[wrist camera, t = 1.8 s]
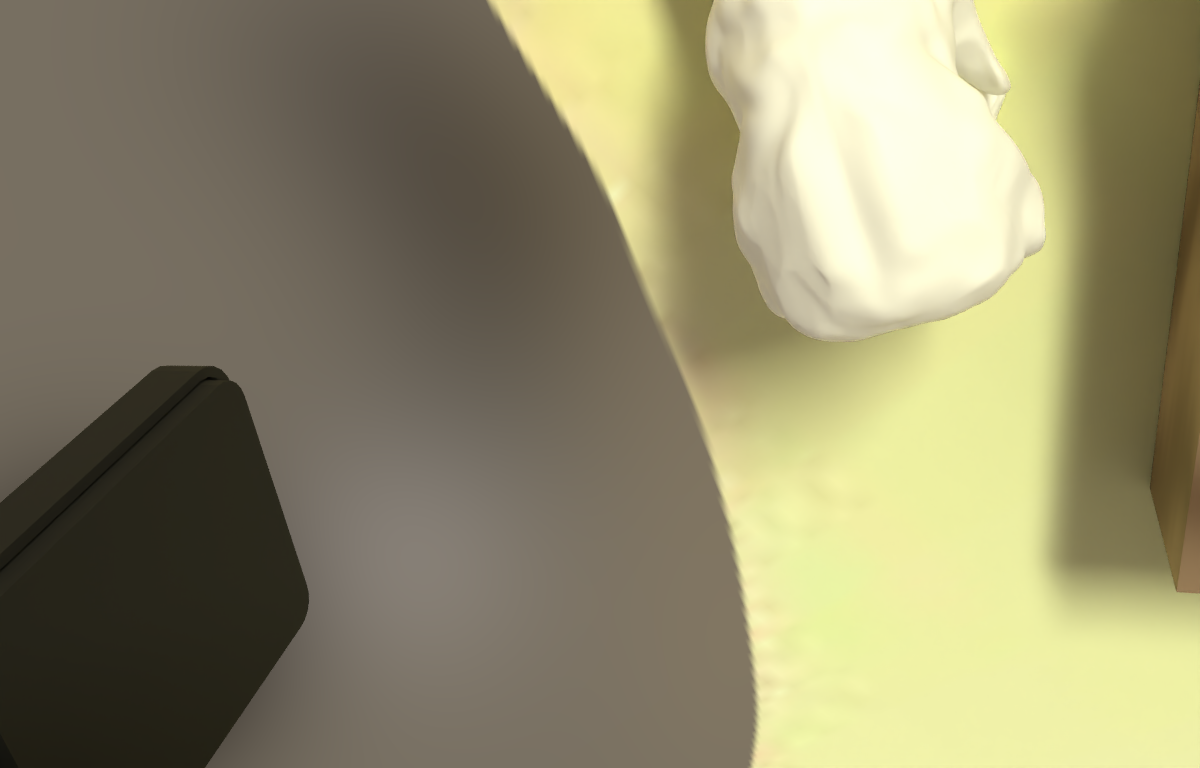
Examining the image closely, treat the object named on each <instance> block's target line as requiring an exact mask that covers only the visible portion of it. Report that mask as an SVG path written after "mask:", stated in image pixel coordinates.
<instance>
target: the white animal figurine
mask: <svg viewBox="0 0 1200 768" xmlns="http://www.w3.org/2000/svg"><path fill="white" fill-rule="evenodd" d="M705 51H706V61H707V66H708V72H709V76H710V78H711V81H712V82H713V84H714V86H715V87H716V89H717V90H718V92H719V93H720V94H721V96H722V97H723V98H724V100H725V101H726V102H727V104H728V106H729V107H730V109H731V111H732V113H733V116H734V118H735V121H736V123H737V126H738V128H739V131H740V138H739V144H738V149H737V154H736V159H735V164H734V168H733V173H732V190H733V222H734V231H735V237H736V241H737V244H738V246H739V249H740V251H741V252H742V254H743V256H744V257H745V258H746V260H747V261H748V263H749V264H750V265H751V267H752V271H753V274H754V276H755V278H756V281H757V284H758V288H759V291H760V294H761V296H762V297H763V299H764V301H765V303H766V305H767V306H768V308H769V309H770V310H771V311H772V312H773V313H774V314H776V315H777V316H779V317H781V318H786V320H787V321H788V322H789V324H790V325H791V326H792V327H793V328H794V329H796V330H797V331H799V332H800V333H802V334H804V335H806V336H808V337H810V338H814V339H817V340H821V341H828V342H851V341H860V340H864V339H867V338H870V337H873V336H877V335H880V334H884V333H887V332H891V331H895V330H899V329H904V328H908V327H911V326H915V325H919V324H923V323H928V322H934V321H939V320H944V319H947V318H950V317H952V316H954V315H957V314H959V313H961V312H963V311H966V310H967V309H969V308H971V307H973V306H976V305H978V304H980V303H982V302H984V301H986V300H988V299H989V298H991V297H992V296H993V295H994V294H995V293H996V292H997V291H998V290H999V289H1000V288H1001V287H1002V286H1003V285H1004V284H1005V283H1006V281H1007V280H1008V278H1009V277H1010V276H1011V275H1012V274H1013V273H1014V272H1015V271H1016V270H1017V269H1018V268H1019V267H1020V265H1021V264H1022V262H1023V260H1024V258H1026V257H1028V256H1031V255H1033V254H1035V253H1037V252H1038V251H1040V250H1041V248H1042V247H1043V244H1044V242H1045V238H1046V231H1045V217H1044V201H1043V195H1042V192H1041V189H1040V186H1039V184H1038V182H1037V180H1036V179H1035V177H1034V176H1033V175H1032V174H1031V172H1030V170H1029V167H1028V164H1027V162H1026V160H1025V158H1024V156H1023V154H1022V153H1021V151H1020V150H1019V148H1018V147H1017V145H1016V144H1015V142H1014V141H1013V140H1012V139H1011V137H1010V136H1009V135H1008V134H1007V133H1006V132H1005V131H1004V129H1003V128H1002V127H1001V126H1000V125H999V124H998V122H997V121H996V119H997V116H998V113H999V111H1000V109H1001V106H1002V104H1003V101H1004V98H1005V95H1006V93H1007V92H1008V91H1009V90H1010V88H1011V84H1010V80H1009V77H1008V75H1007V73H1006V71H1005V70H1004V68H1003V67H1002V66H1001V64H1000V63H999V61H998V59H997V58H996V56H995V54H994V52H993V50H992V48H991V45H990V43H989V41H988V39H987V36H986V34H985V32H984V30H983V27H982V25H981V23H980V20H979V17H978V14H977V11H976V8H975V4H974V0H714V1H713V5H712V8H711V11H710V14H709V17H708V21H707V26H706V37H705Z"/></svg>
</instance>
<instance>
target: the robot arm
mask: <svg viewBox="0 0 1200 768" xmlns="http://www.w3.org/2000/svg"><path fill="white" fill-rule="evenodd" d="M308 604H309V593H308V588H307V585H306V581H305V578H304V575H303V572H302V569H301V566H300V563H299V560H298V557H297V554H296V551H295V548H294V545H293V542H292V539H291V536H290V533H289V530H288V526H287V524H286V520H285V518H284V514H283V511H282V509H281V505H280V502H279V499H278V496H277V493H276V490H275V487H274V484H273V481H272V478H271V475H270V472H269V469H268V466H267V463H266V460H265V457H264V454H263V451H262V447H261V445H260V441H259V438H258V435H257V432H256V429H255V426H254V423H253V420H252V417H251V414H250V411H249V408H248V405H247V402H246V399H245V396H244V394H243V392H242V390H241V388H240V387H239V386H238V385H237V383H235V382H233V381H229V378H228V377H227V375H226V374H225V373H224V372H223V371H222V370H220V369H219V368H216V367H214V366H160V367H158V368H156V369H155V370H153V371H151V372H150V373H149V374H148V375H147V376H146V377H144V378H143V379H142V380H141V381H140V382H139V383H138V384H136V385H135V386H134V387H133V388H132V389H131V390H129V391H128V392H127V393H126V394H125V395H124V396H123V397H121V398H120V399H119V400H118V401H117V402H116V403H115V404H113V405H112V406H111V407H110V408H109V409H108V410H107V411H105V412H104V413H103V414H102V415H101V416H100V417H98V418H97V419H96V420H95V421H94V422H93V423H91V424H90V426H88V427H87V428H86V429H85V430H84V431H82V432H81V433H80V434H79V435H78V436H77V437H75V438H74V439H73V440H72V441H71V442H70V443H69V444H67V445H66V446H65V447H64V448H63V449H62V450H60V451H59V452H58V453H57V454H56V455H55V456H54V457H53V458H51V459H50V460H49V461H48V462H47V463H46V464H44V465H43V466H42V467H41V468H40V469H39V470H37V471H36V472H35V473H34V474H33V475H32V476H31V477H29V478H28V479H27V480H26V481H25V482H24V483H22V484H21V485H20V486H19V487H18V488H17V489H16V490H14V491H13V492H12V493H11V494H10V495H9V496H8V497H6V498H5V499H4V500H3V501H2V502H1V503H0V768H205V767H206V765H207V764H208V762H209V761H210V759H211V758H212V756H213V755H214V754H215V752H216V750H217V749H218V748H219V746H220V745H221V743H222V742H223V740H224V739H225V737H226V736H227V734H228V733H229V732H230V730H231V729H232V727H233V726H234V724H235V723H236V721H237V720H238V718H239V717H240V715H241V714H242V712H243V711H244V709H245V708H246V707H247V705H248V704H249V702H250V701H251V699H252V698H253V696H254V695H255V693H256V692H257V690H258V689H259V687H260V686H261V684H262V683H263V681H264V680H265V679H266V677H267V676H268V674H269V673H270V671H271V670H272V668H273V667H274V665H275V664H276V662H277V661H278V659H279V658H280V657H281V655H282V654H283V652H284V651H285V649H286V648H287V646H288V645H289V643H290V642H291V640H292V639H293V638H294V636H295V635H296V633H297V632H298V630H299V629H300V627H301V625H302V624H303V622H304V620H305V617H306V614H307V610H308Z"/></svg>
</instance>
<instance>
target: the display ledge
mask: <svg viewBox="0 0 1200 768" xmlns="http://www.w3.org/2000/svg"><path fill="white" fill-rule="evenodd" d="M1150 490H1151V494H1152V498H1153V502H1154V505H1155V509H1156V513H1157V517H1158V521H1159V525H1160V529H1161V533H1162V537H1163V541H1164V545H1165V548H1166V552H1167V556H1168V560H1169V564H1170V568H1171V572H1172V576H1173V580H1174V584H1175V588H1176V591H1177V592H1186V593H1200V84H1199V93H1198V101H1197V109H1196V117H1195V125H1194V133H1193V141H1192V150H1191V158H1190V166H1189V174H1188V182H1187V190H1186V198H1185V207H1184V215H1183V223H1182V231H1181V239H1180V247H1179V255H1178V264H1177V272H1176V280H1175V288H1174V296H1173V304H1172V312H1171V321H1170V329H1169V337H1168V345H1167V353H1166V361H1165V369H1164V378H1163V386H1162V394H1161V402H1160V410H1159V418H1158V426H1157V435H1156V443H1155V451H1154V459H1153V467H1152V475H1151V483H1150Z"/></svg>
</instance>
